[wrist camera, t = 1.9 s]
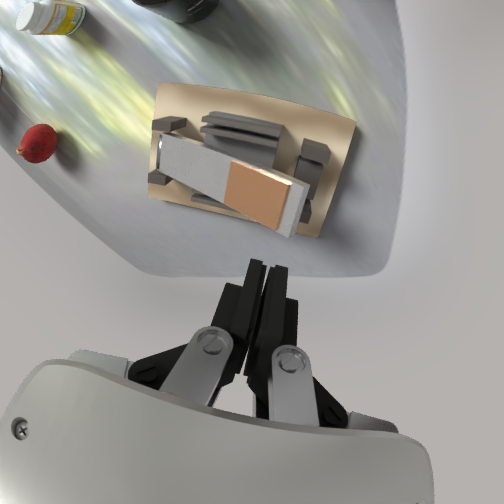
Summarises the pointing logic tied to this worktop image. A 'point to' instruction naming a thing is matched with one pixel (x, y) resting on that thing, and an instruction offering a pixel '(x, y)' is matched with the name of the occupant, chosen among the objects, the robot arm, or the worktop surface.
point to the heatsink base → (261, 109)
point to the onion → (38, 143)
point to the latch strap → (234, 181)
